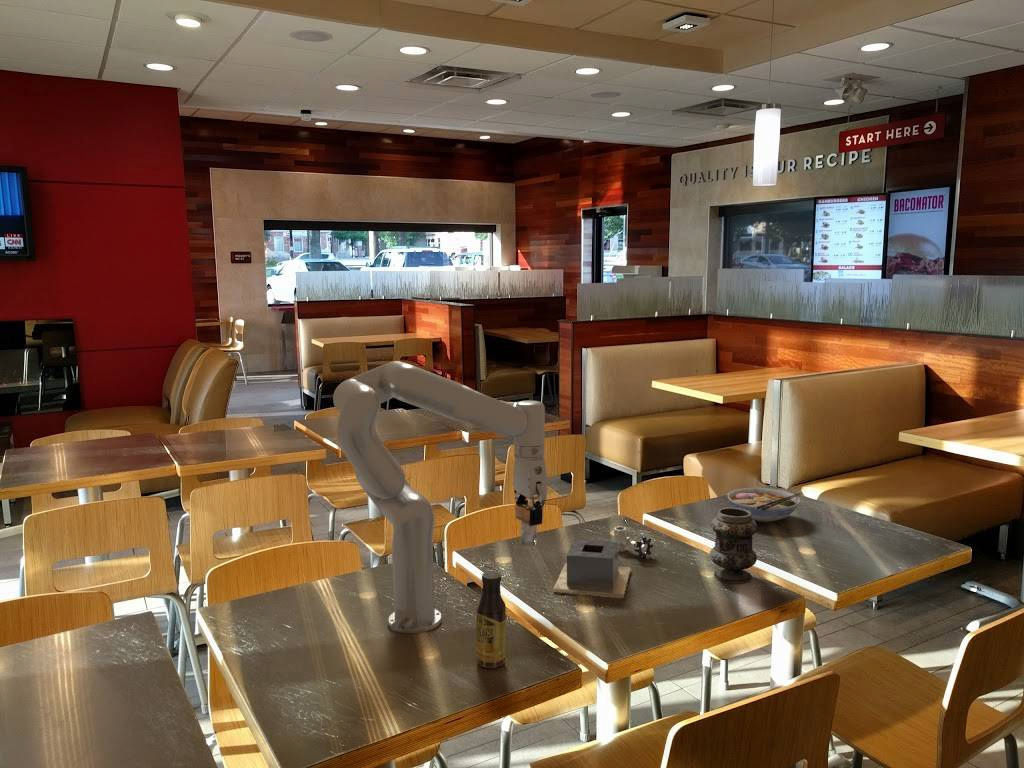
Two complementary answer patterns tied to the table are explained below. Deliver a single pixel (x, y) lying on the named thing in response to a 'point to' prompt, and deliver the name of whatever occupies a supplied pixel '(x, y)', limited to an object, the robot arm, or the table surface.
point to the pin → (526, 524)
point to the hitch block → (593, 570)
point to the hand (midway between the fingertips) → (528, 519)
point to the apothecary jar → (733, 545)
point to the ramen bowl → (764, 503)
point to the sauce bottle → (491, 623)
